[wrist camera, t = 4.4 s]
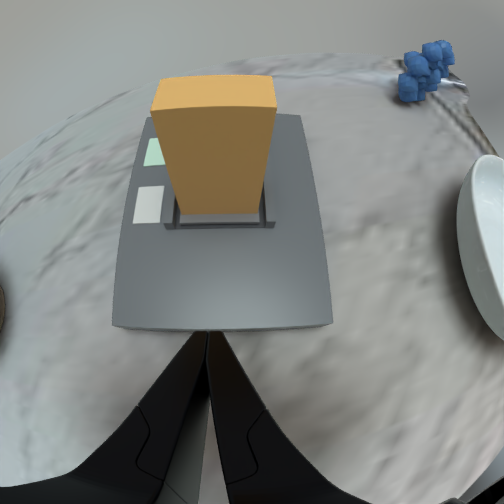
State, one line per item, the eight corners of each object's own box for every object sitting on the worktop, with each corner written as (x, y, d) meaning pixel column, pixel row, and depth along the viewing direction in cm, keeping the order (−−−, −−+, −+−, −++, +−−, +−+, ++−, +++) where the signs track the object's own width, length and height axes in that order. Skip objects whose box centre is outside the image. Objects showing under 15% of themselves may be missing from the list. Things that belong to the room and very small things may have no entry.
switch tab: (259, 223, 18) (281, 117, 9) (180, 224, 18) (144, 120, 9) (256, 178, 19) (272, 70, 11) (184, 180, 19) (161, 72, 10)
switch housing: (321, 326, 19) (339, 321, 15) (125, 329, 18) (105, 323, 14) (295, 133, 25) (302, 107, 22) (152, 135, 24) (144, 109, 21)
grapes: (408, 79, 33) (435, 27, 22) (437, 106, 31) (470, 55, 20) (368, 84, 30) (397, 18, 19) (403, 116, 28) (443, 49, 17)
